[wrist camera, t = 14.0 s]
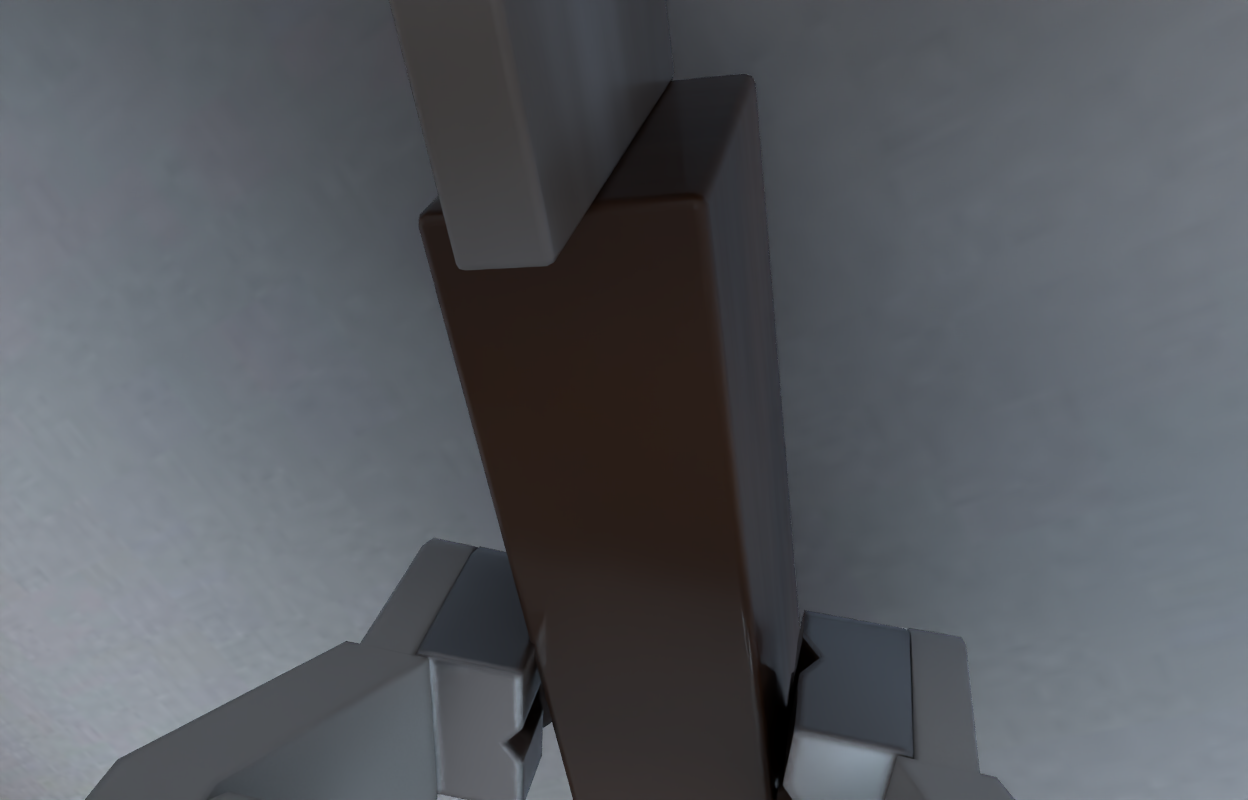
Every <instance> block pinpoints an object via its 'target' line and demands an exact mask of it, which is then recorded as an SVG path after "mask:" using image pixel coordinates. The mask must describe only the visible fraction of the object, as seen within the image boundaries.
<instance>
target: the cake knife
mask: <svg viewBox="0 0 1248 800" xmlns="http://www.w3.org/2000/svg"><path fill="white" fill-rule="evenodd" d="M389 3H390V7H391V11H392V15H393V18H394V22H395V26H396V30H397V34H398V38H399V42H400V46H401V50H402V54H403V58H404V62H405V66H406V70H407V73H408V77H409V81H410V85H411V89H412V93H413V97H414V101H415V105H416V109H417V113H418V117H419V121H420V124H421V128H422V132H423V136H424V140H425V144H426V148H427V152H428V156H429V160H430V164H431V168H432V172H433V176H434V179H435V183H436V187H437V191H438V195H439V196H438V197H437V198H436V199H435V200H434V201H433V202H432V203H431V204H430V205H429V206H428V207H427V208H426V209H425V210H424V211H423V212H422V213H421V214H420V217H419V230H420V233H421V237H422V241H423V245H424V248H425V252H426V256H427V259H428V263H429V267H430V271H431V274H432V278H433V282H434V285H435V289H436V293H437V297H438V300H439V304H440V308H441V311H442V315H443V319H444V322H445V326H446V330H447V334H448V337H449V341H450V345H451V348H452V352H453V356H454V360H455V363H456V367H457V371H458V374H459V378H460V382H461V386H462V389H463V393H464V397H465V400H466V404H467V408H468V411H469V415H470V419H471V423H472V426H473V430H474V434H475V437H476V441H477V445H478V449H479V452H480V456H481V460H482V463H483V467H484V471H485V474H486V478H487V482H488V486H489V489H490V493H491V497H492V500H493V504H494V508H495V512H496V515H497V519H498V523H499V526H500V530H501V534H502V538H503V541H504V545H505V549H506V552H507V556H508V560H509V563H510V567H511V571H512V575H513V578H514V582H515V586H516V589H517V593H518V597H519V601H520V604H521V608H522V612H523V615H524V619H525V623H526V627H527V630H528V634H529V638H530V641H531V643H533V644H535V657H536V664H537V667H538V671H539V675H540V678H541V682H542V686H543V690H544V693H545V697H546V701H547V704H548V708H549V712H550V715H551V719H552V723H553V727H554V730H555V734H556V738H557V741H558V745H559V749H560V753H561V756H562V760H563V764H564V767H565V771H566V775H567V779H568V782H569V786H570V790H571V793H572V797H573V800H775V797H776V788H777V783H778V777H779V772H780V767H781V742H782V733H783V723H784V715H785V708H786V702H787V696H788V690H789V684H790V678H791V673H792V672H794V669H795V660H796V651H797V642H798V637H799V632H800V623H799V611H798V598H797V586H796V574H795V561H794V549H793V537H792V524H791V512H790V500H789V487H788V475H787V462H786V450H785V438H784V425H783V413H782V401H781V388H780V376H779V364H778V351H777V339H776V327H775V314H774V302H773V290H772V277H771V265H770V253H769V240H768V228H767V216H766V203H765V191H764V179H763V166H762V154H761V142H760V129H759V117H758V105H757V92H756V83H755V81H754V79H753V77H752V76H751V75H747V74H735V75H724V76H714V77H704V78H694V79H684V80H674V81H671V80H672V78H673V76H674V65H673V57H672V49H671V40H670V32H669V24H668V16H667V7H666V0H389Z"/></svg>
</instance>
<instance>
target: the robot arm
mask: <svg viewBox="0 0 1248 800" xmlns="http://www.w3.org/2000/svg"><path fill="white" fill-rule="evenodd" d="M551 722H552V719H551V715H550V712H549V708H548V704H547V701H546V697H545V693H544V690H543V686H542V682H541V678H540V675H539V671H538V667H537V664H536V657H535V644H533V643H531V641H530V638H529V634H528V630H527V627H526V623H525V619H524V615H523V612H522V608H521V604H520V601H519V597H518V593H517V589H516V586H515V582H514V578H513V575H512V571H511V567H510V563H509V560H508V556H507V552H504V551H499V550H494V549H489V548H485V547H479V548H478V547H475V546H471V545H466V544H462V543H457V542H452V541H448V540H443V539H438V538H432V539H431V540H429V541H428V542H426V543H425V544H424V545H422V547H421V548H420V550H419V552H418V553H417V555H416V556H415V558H414V559H413V561H412V563H411V564H410V566H409V567H408V569H407V570H406V572H405V574H404V575H403V577H402V578H401V580H400V581H399V583H398V585H397V586H396V588H395V589H394V591H393V592H392V594H391V596H390V597H389V599H388V600H387V602H386V604H385V605H384V607H383V608H382V610H381V611H380V613H379V615H378V616H377V618H376V619H375V621H374V622H373V624H372V626H371V627H370V629H369V630H368V632H367V633H366V635H365V637H364V638H363V640H362V641H361V643H360V644H358V643H353V642H348V641H345V642H343V643H341V644H340V645H338V646H336V647H334V648H332V649H330V650H328V651H326V652H324V653H322V654H320V655H318V656H316V657H314V658H313V659H311V660H309V661H307V662H305V663H303V664H301V665H299V666H297V667H295V668H293V669H291V670H289V671H287V672H286V673H284V674H282V675H280V676H278V677H276V678H274V679H272V680H270V681H268V682H266V683H264V684H262V685H260V686H259V687H257V688H255V689H253V690H251V691H249V692H247V693H245V694H243V695H241V696H239V697H237V698H235V699H233V700H232V701H230V702H228V703H226V704H224V705H222V706H220V707H218V708H216V709H214V710H212V711H210V712H208V713H206V714H204V715H203V716H201V717H199V718H197V719H195V720H193V721H191V722H189V723H187V724H185V725H183V726H181V727H179V728H177V729H176V730H174V731H172V732H170V733H168V734H166V735H164V736H162V737H160V738H158V739H156V740H154V741H152V742H150V743H149V744H147V745H145V746H143V747H141V748H139V749H137V750H135V751H133V752H131V753H129V754H127V755H125V756H123V757H122V758H120V759H118V760H117V761H116V762H115V763H114V764H113V766H112V767H111V768H110V769H109V771H108V772H107V773H106V774H105V775H104V777H103V778H102V779H101V780H100V782H99V783H98V784H97V785H96V787H95V788H94V789H93V790H92V791H91V793H90V794H89V795H88V796H87V798H86V799H85V800H437V794H442V795H447V796H452V797H457V798H462V799H467V800H526V797H527V794H528V792H529V789H530V786H531V784H532V781H533V778H534V776H535V773H536V770H537V767H538V765H539V762H540V759H541V757H542V735H543V728H544V727H545V726H547V725H548V724H550V723H551ZM775 800H1015V799H1014V798H1013V796H1012V795H1011V794H1010V793H1009V791H1008V790H1007V789H1006V788H1005V787H1004V785H1003V784H1002V783H1001V782H1000V780H999V779H998V778H997V777H994V776H990V775H985V774H980V768H979V759H978V749H977V740H976V731H975V721H974V712H973V703H972V693H971V684H970V675H969V665H968V656H967V647H966V644H965V642H964V641H963V639H962V638H961V637H959V636H953V635H947V634H941V633H935V632H929V631H924V630H918V629H912V628H908V630H906V629H905V628H901V627H895V626H890V625H884V624H879V623H873V622H868V621H862V620H857V619H851V618H846V617H840V616H835V615H829V614H824V613H818V612H813V611H807V610H804V614H803V618H802V622H801V627H800V632H799V637H798V642H797V651H796V660H795V669H794V672H792V673H791V678H790V684H789V690H788V696H787V702H786V708H785V715H784V723H783V733H782V742H781V767H780V772H779V777H778V783H777V788H776V797H775Z"/></svg>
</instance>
